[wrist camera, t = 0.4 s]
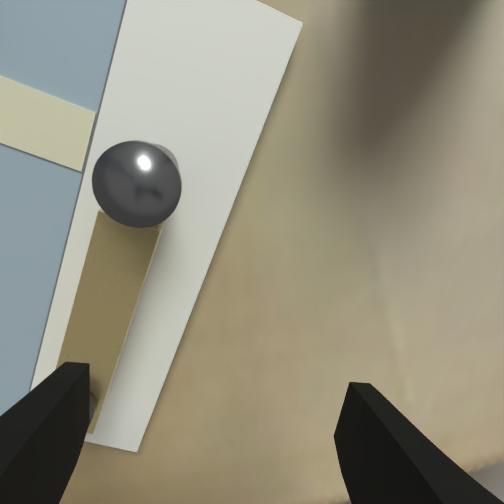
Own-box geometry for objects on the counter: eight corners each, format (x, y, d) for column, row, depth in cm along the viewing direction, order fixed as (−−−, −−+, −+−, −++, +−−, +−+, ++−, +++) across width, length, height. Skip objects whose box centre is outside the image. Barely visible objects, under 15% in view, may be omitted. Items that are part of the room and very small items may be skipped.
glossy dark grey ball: (116, 184, 17) (82, 211, 12) (134, 120, 16) (104, 127, 12) (178, 206, 17) (166, 239, 13) (199, 146, 16) (192, 161, 12)
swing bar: (114, 196, 15) (90, 217, 13) (167, 214, 16) (156, 239, 13) (60, 387, 19) (32, 438, 16) (106, 398, 19) (87, 449, 16)
